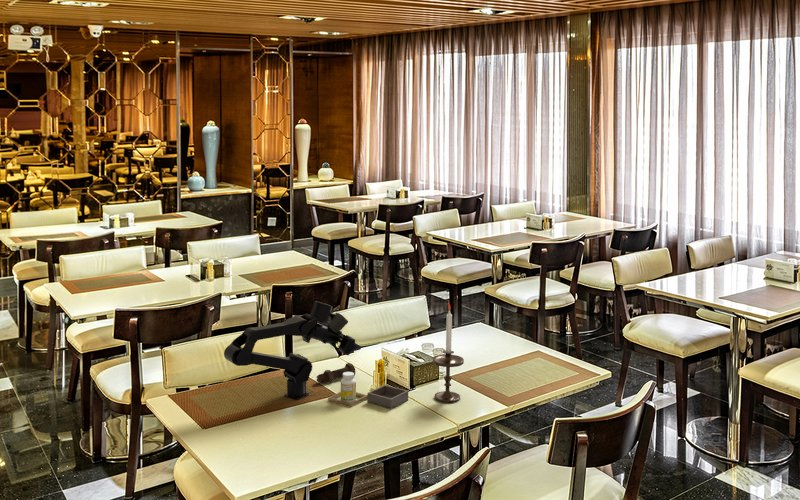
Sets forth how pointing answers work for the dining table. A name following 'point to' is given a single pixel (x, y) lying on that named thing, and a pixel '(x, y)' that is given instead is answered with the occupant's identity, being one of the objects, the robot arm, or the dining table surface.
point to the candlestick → (448, 365)
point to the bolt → (335, 373)
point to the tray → (387, 396)
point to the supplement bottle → (348, 387)
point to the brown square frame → (333, 399)
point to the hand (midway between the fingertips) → (354, 343)
